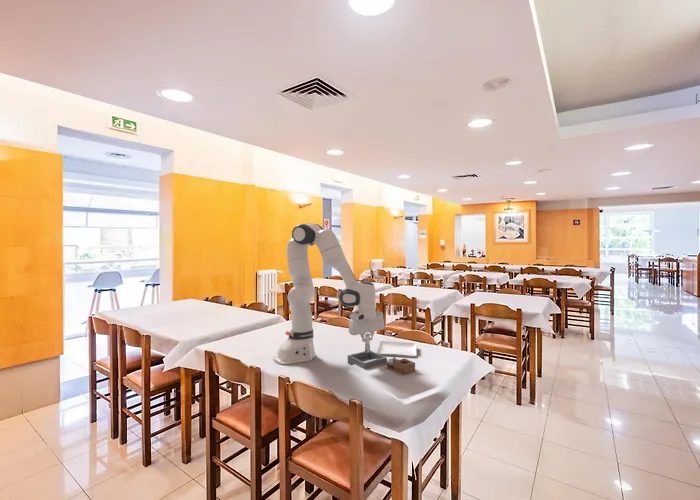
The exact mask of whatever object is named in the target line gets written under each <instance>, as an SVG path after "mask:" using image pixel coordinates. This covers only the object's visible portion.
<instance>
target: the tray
mask: <svg viewBox="0 0 700 500" xmlns="http://www.w3.org/2000/svg"><path fill="white" fill-rule="evenodd" d="M387 360H388V358H387V356H382V355H380V354H377V353H376V352H375V351H373V350H370V352H369V353H366V352H365V350H364V351H361V352H357V353H351V354H348V355H347V364H349V365H350V366H353V365H356V366H358V367H360V368H362V369H364V370H365V369H370V368H372V367H373V368H374V367H377V366H380V365H385V364H386V362H387Z"/></svg>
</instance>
